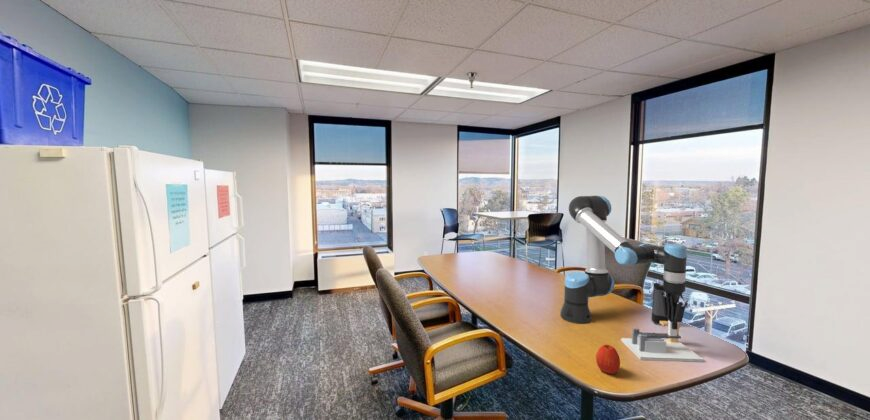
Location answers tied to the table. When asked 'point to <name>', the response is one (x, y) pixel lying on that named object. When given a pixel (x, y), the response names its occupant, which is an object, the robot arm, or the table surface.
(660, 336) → the strap
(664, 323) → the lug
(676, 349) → the board
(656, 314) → the electronic device
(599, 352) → the apple
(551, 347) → the table surface
